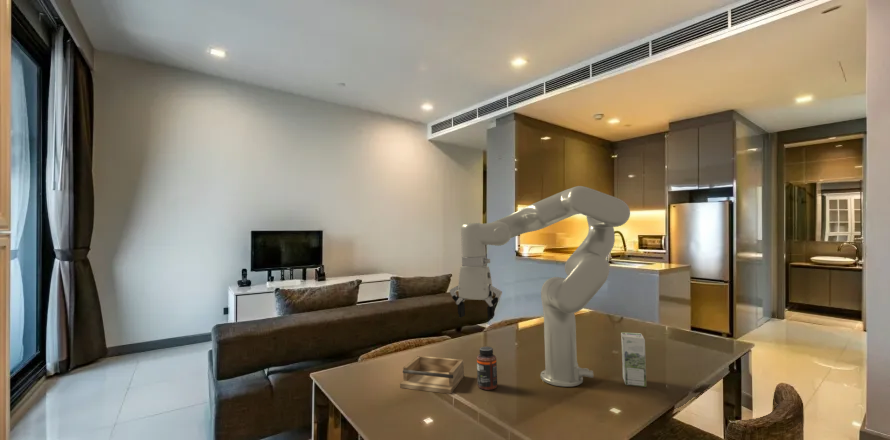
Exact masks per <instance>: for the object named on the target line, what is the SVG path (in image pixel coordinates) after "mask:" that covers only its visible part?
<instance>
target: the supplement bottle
mask: <svg viewBox="0 0 890 440" xmlns="http://www.w3.org/2000/svg"><path fill="white" fill-rule="evenodd" d="M497 363H498V361H497V357H496V355H495V354H494V348H492V347H491V346H481V347H480V348H479V354H478V355H477V357H476V372H477V373H476V375H477V376H476V377H477V381H476V382H477V387H478V388H479V389H481V390H486V391H491V390H494V389H497V387H498V370H497V369H498V368H497Z"/></svg>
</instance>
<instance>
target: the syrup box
mask: <svg viewBox="0 0 890 440" xmlns="http://www.w3.org/2000/svg"><path fill="white" fill-rule="evenodd" d="M620 336H621V339H620V340H621V361H622V363H621V364H622V365H621V366H622V379H623V382H624V384H625V386H633V387H643V388H647V369H646V368H647V366H646V363H647V362H646V361H647V360H646V339H645V338H644V337H645V336H644V335H643V334H642V333H638V332H621V333H620Z"/></svg>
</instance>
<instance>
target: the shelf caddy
mask: <svg viewBox="0 0 890 440" xmlns="http://www.w3.org/2000/svg"><path fill="white" fill-rule="evenodd" d="M402 369H403V370H402V373H403V380H402V381H401V382H400V383H399V387H400V389H401V388H402V389H410V390H415V391H416V390H417V391H422V392H423V391H426V392H433V393H441V394H446V395H447V394H448V395H451V394H452V393H453V392H454V390H455V389H456V388H457V386H458V385H459V383H460V382H461V381H462V380H463V378H464V376H465V373H464V372H465V366H464V359H458V358H457V359H456V358H448V357H447V358H446V357H437V356H436V357H435V356H425V355H417V356H415V358H413V359H412V360H411V361H409V362H408V363H407V364H405V365H404V366H403V368H402Z"/></svg>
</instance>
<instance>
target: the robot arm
mask: <svg viewBox="0 0 890 440" xmlns="http://www.w3.org/2000/svg"><path fill="white" fill-rule="evenodd" d="M575 215H583V216H586V222H587V225H588V233H587V234H586V237H585V238H584V239H583V241H582V243H580V245H579V246H578V247H577V248H576V249H575V251H574V252H573V253H572V254H570V256H569V257H568V258H567V260H566V261H565V264H564V272H565V274H566V275H567V276H566V277H565V278H564V277H561V276H560V277H559V276H553V277H550V278H548V279H546V280H545V282H544V283H543V284H542V286H541V290H540V297H541V305H542V312H543V313H542V314H543V326H544V327H543V336H544V365H545V366H544V367H545V369H544V370H542V371H541V372H540V379H541V380H542V381H544V382H545V383H547V384H550V385H552V386H557V387H563V388H564V387H565V388H567V387H568V388H569V387H576V386H579V385H581V384H583V382H584V377H587V378H594V370H589V368H586V367H584V368H582V367H581V366H579V363H578V356H577V355H578V354H577V332H576V331H577V325H576V324H577V323H576V322H577V321H576V316H575V313H578V312H580V311H581V310H583V309H584V308H585V307H586V306H587V305H588V304H589V303H590V301H591V300H592V299H593V298H594V297H595V296H596V294H597V293H598V292H599V291H600V289H601V288H602V287H603V286H604V285H605V283H606V282H607V280H608V278H609V274H610V264H609V261H608V260H607V257H608V256H609V254H610V253H611V252H612V250H613V248H614V245H615V242H616V240H615V239H616V237H615V236H616V235H615V228H617V227H621V226H623V225H626V223H627V222H628V220H629V219H630V216H631V210H630V208H629V205H628V204H627V203H626V202H625V201H624V200H622V199H620V198H618V197H616V196H613V195H610V194H607V193H605V192H602V191H598V190H596V189H594V188H590V187H587V186H584V185H583V186H582V185H577V186H573V187H571V188H568V189H565V190H562V191H560V192H557V193H555V194H552V195H551V196H547V197H546V198H543V199H541V200H539V201H536V202H534V203H532V204H529V205H526V206H525V207H523V208H521V209H519V210H517V211H516V212H512V213H510V214H508V215H507V216H503V217H502V218H499V219H496V220H495V221H492V222H488V223H486V222H485V223H480V222H472V223H471V222H470V223H464V224H462V225H461V227H460V238H461V239H460V241H461V265H462V266H461V267H460V268H459V273H458V274H459V275H458V284H457V285H456V286H454V287H453V288H450V289H449V293H450V296H451V298H452V299H453V301H454V302H455V304H456V305H457V314H458V317H459V318H463V317H465V315H466V310H465V309H466V307H465V306H466V305H465V300H473V301H475V300H476V301H477V300H478V301H481V300H482V301H485V302H486V304H487V305H488V306H487V307H486V308H487V309H486V313H487V320H489V321H491V320H492V319H494V317H495V305H496V304H497V303H498V302H499V301H500V298H501V297H502V295H503V291H501V290H500V289H498V288H497V287H495V286H493V280H492V276H491V275H492V274H491V270H490V266H487V264H490V263H491V259H490V258H487V256H486V255H487V253H486V249H487V248H486V246H487V245H489V246H497V247H499V246H504V245H506V244H507V243H508V242H510V240H511V239H512V238H515V237H517V236H520V235H523V234H526V233H532V232H536V231H540V230H543V229H545V228H548V227H550V226H552V225H554V224H556V223H558V222H561V221H564V220H566V219H568V218H571V217H573V216H575ZM457 292H458V294H457ZM493 294H495V297H494V298H493V296H494V295H493Z"/></svg>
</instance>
